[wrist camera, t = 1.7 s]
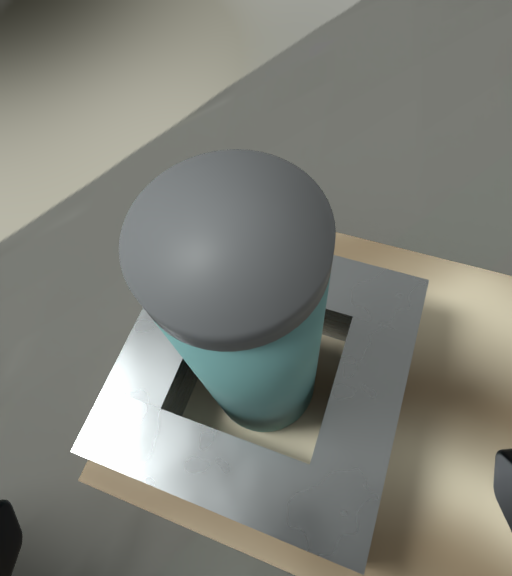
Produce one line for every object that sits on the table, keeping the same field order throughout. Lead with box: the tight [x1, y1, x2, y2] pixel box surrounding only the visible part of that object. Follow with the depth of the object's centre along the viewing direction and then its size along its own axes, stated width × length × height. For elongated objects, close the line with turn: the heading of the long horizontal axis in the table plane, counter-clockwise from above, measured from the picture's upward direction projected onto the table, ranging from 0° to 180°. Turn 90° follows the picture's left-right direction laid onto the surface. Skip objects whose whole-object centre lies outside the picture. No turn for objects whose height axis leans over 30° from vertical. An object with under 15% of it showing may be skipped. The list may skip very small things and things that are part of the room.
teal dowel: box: [119, 149, 336, 432], centre depth 14 cm, size 4×4×12 cm
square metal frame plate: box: [71, 255, 429, 575], centre depth 18 cm, size 11×11×3 cm
